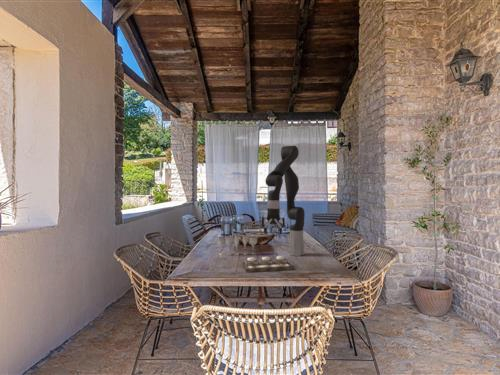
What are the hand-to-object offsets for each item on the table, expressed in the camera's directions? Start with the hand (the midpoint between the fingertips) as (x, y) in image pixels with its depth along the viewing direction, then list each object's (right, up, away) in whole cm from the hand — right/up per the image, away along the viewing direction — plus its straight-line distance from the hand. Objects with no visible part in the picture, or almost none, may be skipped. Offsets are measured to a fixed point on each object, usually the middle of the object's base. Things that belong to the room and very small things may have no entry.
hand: (273, 234), depth 231 cm
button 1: (-13, -16, -4) cm, 21 cm away
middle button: (-4, -16, -2) cm, 17 cm away
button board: (-4, -20, -4) cm, 20 cm away
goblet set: (-23, -19, +32) cm, 43 cm away
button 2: (+5, -16, -1) cm, 16 cm away
